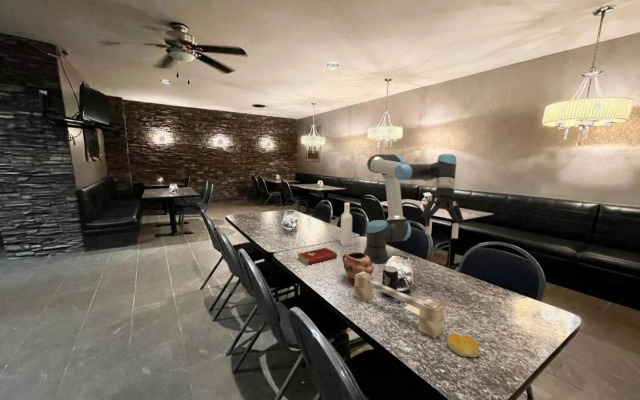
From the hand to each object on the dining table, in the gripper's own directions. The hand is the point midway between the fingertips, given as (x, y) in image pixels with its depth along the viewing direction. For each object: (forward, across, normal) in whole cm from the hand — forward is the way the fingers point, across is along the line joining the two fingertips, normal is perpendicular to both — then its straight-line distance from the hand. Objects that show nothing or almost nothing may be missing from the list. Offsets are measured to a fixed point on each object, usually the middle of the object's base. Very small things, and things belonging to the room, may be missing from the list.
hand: (441, 236), depth 112 cm
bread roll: (+36, -8, -23) cm, 44 cm away
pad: (+31, -8, -2) cm, 32 cm away
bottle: (+11, -13, +79) cm, 81 cm away
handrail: (+33, -20, 0) cm, 39 cm away
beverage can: (+29, -15, +12) cm, 35 cm away
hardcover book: (+22, -38, +58) cm, 73 cm away
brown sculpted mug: (+27, -26, +27) cm, 46 cm away
